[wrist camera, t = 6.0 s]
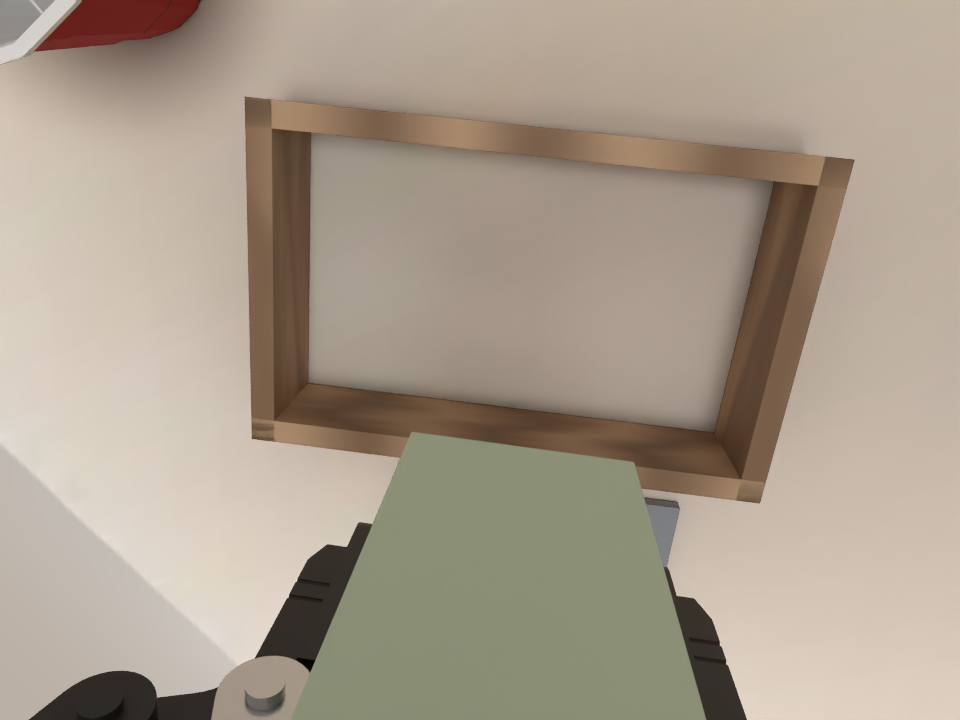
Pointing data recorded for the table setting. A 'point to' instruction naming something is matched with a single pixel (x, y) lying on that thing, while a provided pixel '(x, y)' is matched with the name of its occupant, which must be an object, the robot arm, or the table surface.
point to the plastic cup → (84, 23)
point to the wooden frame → (392, 417)
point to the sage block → (505, 596)
